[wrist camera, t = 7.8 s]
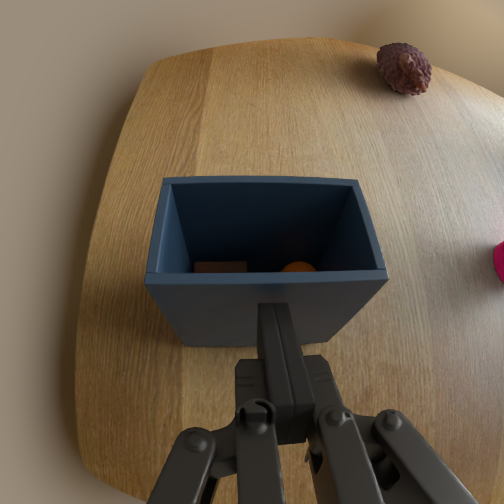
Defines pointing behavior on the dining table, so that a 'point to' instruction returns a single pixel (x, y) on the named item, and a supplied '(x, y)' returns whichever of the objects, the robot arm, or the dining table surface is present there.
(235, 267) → the walnut block
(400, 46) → the pine cone
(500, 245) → the pepper mill
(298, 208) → the gray box
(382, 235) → the dining table surface
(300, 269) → the orange ball
